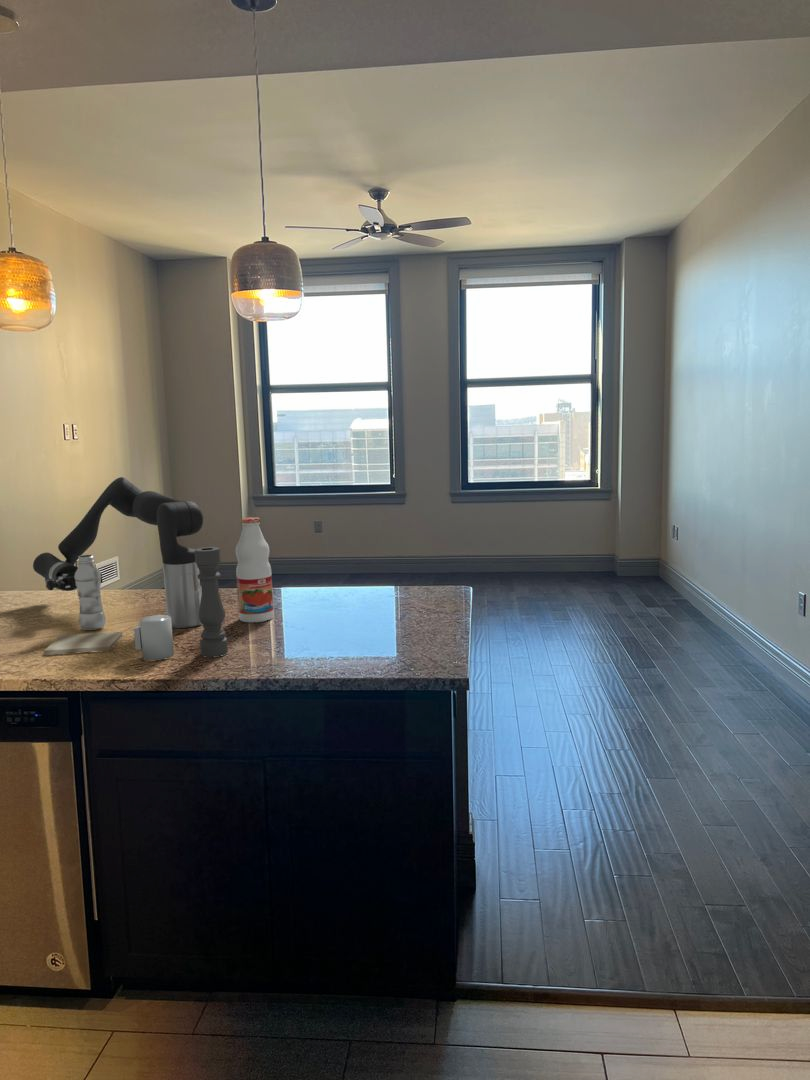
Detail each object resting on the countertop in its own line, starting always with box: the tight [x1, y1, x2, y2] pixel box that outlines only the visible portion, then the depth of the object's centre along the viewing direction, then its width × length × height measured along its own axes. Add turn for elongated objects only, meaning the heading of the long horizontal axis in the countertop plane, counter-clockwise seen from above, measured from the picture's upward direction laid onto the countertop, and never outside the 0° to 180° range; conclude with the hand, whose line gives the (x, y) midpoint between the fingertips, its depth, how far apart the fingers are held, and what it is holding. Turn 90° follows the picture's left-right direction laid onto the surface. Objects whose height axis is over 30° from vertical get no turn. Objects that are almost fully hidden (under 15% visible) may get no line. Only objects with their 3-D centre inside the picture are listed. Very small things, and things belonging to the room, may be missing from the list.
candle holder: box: [194, 546, 229, 658], centre depth 175 cm, size 6×6×25 cm
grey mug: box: [133, 614, 175, 661], centre depth 175 cm, size 8×7×9 cm
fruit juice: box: [235, 516, 275, 624], centre depth 205 cm, size 9×9×28 cm
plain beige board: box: [43, 631, 124, 656], centre depth 186 cm, size 15×13×1 cm
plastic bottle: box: [74, 554, 107, 631], centre depth 199 cm, size 6×7×20 cm
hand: (80, 584), depth 206 cm, fingers open, 8 cm apart
